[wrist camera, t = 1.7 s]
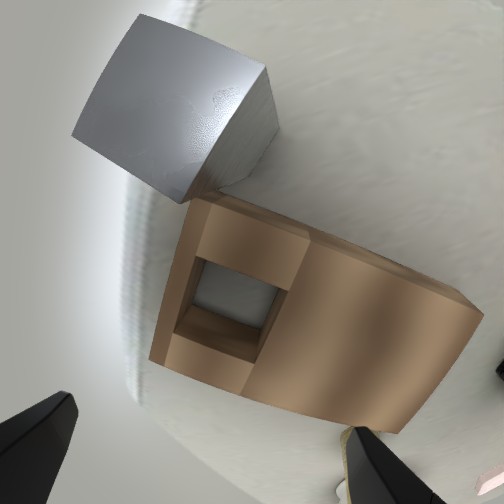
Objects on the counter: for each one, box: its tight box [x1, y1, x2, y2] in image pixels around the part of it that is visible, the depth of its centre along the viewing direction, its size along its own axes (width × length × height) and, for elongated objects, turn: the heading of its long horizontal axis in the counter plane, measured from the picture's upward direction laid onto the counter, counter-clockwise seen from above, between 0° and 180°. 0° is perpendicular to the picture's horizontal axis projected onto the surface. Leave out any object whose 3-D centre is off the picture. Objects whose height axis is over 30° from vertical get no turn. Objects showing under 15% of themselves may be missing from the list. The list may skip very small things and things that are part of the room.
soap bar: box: [475, 463, 504, 495], centre depth 25 cm, size 5×9×2 cm, turn 111°
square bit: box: [72, 14, 280, 204], centre depth 12 cm, size 4×4×12 cm
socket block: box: [149, 190, 484, 434], centre depth 19 cm, size 19×11×4 cm, turn 70°
